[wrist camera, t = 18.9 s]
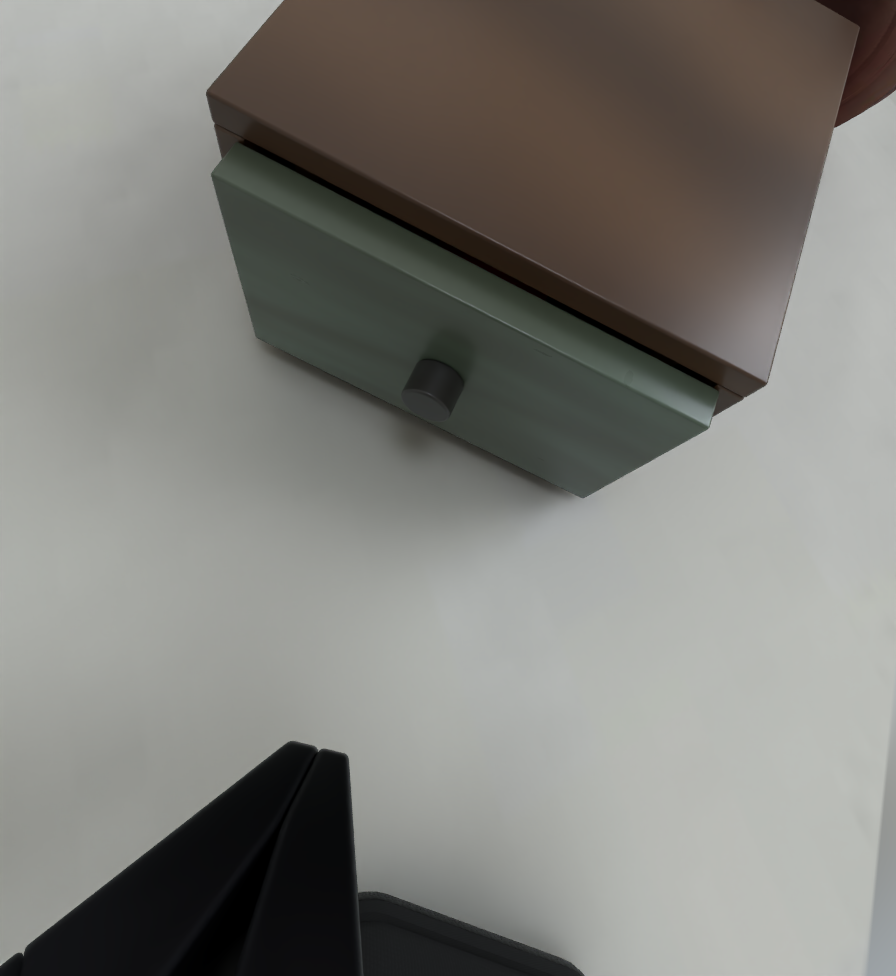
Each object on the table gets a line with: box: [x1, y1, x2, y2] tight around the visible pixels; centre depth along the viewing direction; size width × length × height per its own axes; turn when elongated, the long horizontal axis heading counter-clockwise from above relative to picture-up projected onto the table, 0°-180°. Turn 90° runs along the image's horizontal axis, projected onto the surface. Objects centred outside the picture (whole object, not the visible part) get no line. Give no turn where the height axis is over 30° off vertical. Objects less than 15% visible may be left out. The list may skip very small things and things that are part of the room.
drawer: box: [211, 142, 719, 498], centre depth 18 cm, size 15×13×7 cm
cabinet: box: [206, 0, 860, 417], centre depth 19 cm, size 15×15×9 cm
